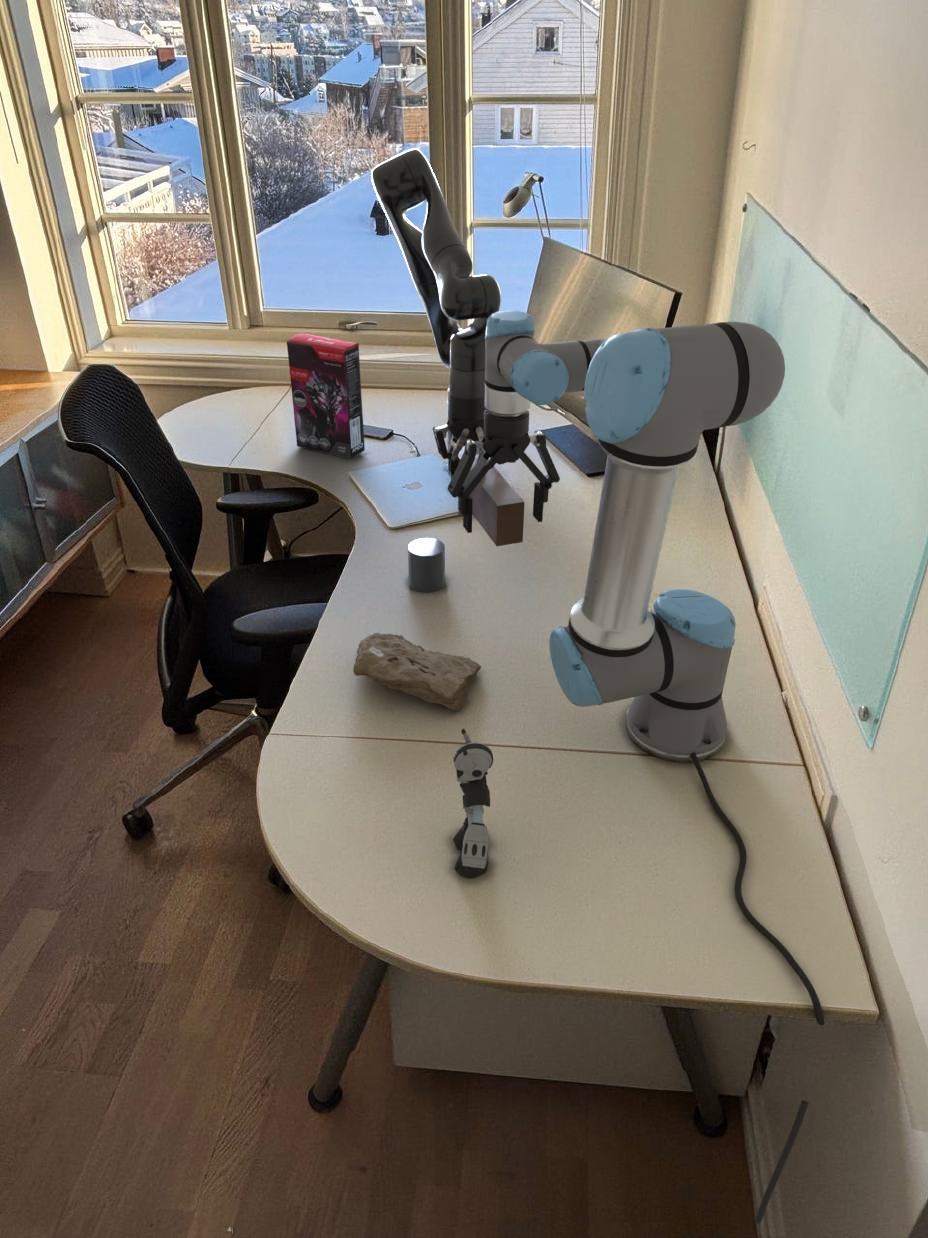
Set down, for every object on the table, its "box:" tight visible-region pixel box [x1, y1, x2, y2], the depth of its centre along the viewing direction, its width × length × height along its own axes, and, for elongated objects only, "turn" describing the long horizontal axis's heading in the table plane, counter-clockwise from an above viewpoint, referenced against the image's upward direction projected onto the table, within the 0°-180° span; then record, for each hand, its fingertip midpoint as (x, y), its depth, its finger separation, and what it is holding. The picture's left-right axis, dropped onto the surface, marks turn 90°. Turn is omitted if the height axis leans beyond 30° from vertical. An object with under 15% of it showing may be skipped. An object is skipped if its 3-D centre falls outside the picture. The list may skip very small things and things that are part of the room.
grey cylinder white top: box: [407, 537, 446, 593], centre depth 177 cm, size 7×7×8 cm
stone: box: [352, 632, 482, 712], centre depth 151 cm, size 21×15×6 cm
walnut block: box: [450, 446, 525, 547], centre depth 171 cm, size 26×5×8 cm, turn 19°
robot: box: [452, 728, 494, 879], centre depth 116 cm, size 20×5×20 cm, turn 3°
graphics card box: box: [286, 332, 366, 459], centre depth 224 cm, size 17×7×27 cm, turn 62°
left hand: (468, 473), depth 178 cm, fingers closed on walnut block, 5 cm apart
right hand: (502, 524), depth 164 cm, fingers open, 13 cm apart
